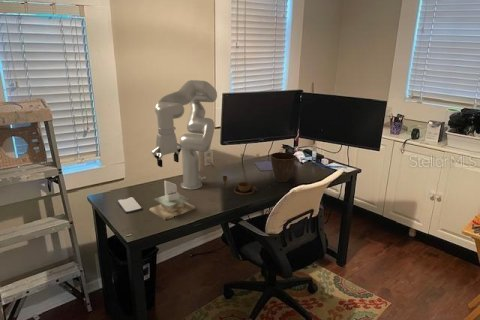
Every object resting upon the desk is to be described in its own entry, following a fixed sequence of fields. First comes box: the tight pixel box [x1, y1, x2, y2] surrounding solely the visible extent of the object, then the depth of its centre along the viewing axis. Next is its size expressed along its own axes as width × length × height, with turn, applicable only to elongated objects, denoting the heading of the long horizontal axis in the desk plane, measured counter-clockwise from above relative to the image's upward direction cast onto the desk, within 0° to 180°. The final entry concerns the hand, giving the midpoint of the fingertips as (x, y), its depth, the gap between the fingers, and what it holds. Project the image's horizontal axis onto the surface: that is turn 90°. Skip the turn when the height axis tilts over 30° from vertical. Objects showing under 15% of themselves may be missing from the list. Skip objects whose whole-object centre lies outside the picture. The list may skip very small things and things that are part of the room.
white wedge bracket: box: [163, 180, 180, 201], centre depth 181 cm, size 4×10×9 cm, turn 128°
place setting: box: [222, 175, 259, 196], centre depth 211 cm, size 18×20×6 cm
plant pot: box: [270, 151, 296, 183], centre depth 222 cm, size 15×15×16 cm
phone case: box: [116, 196, 143, 214], centre depth 187 cm, size 9×2×16 cm
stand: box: [149, 193, 196, 221], centre depth 183 cm, size 18×14×6 cm
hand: (168, 164), depth 182 cm, fingers open, 9 cm apart
